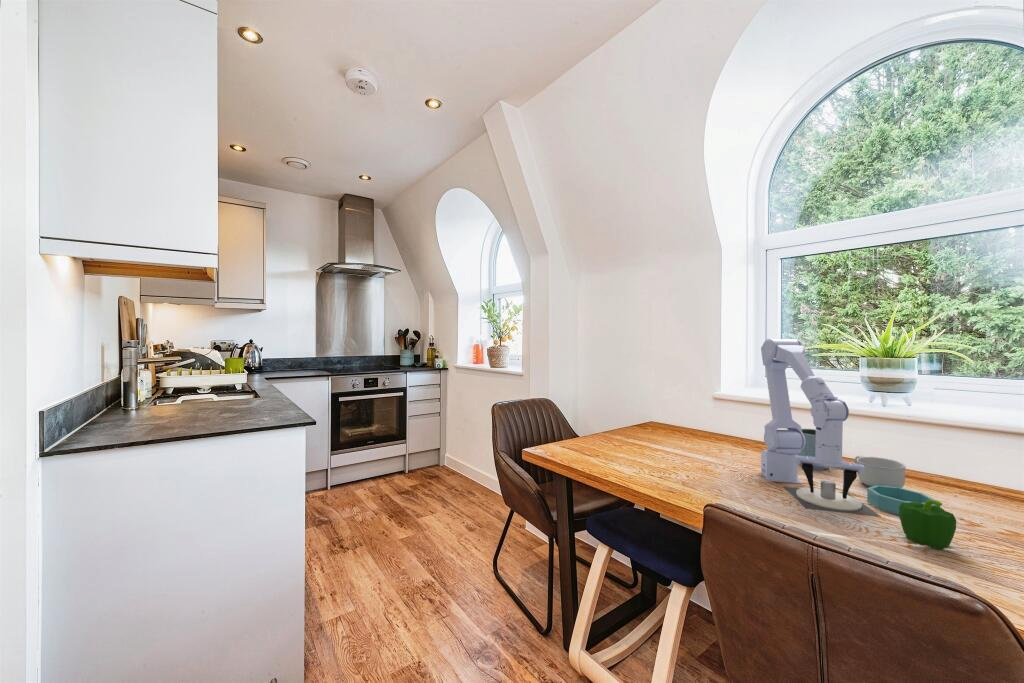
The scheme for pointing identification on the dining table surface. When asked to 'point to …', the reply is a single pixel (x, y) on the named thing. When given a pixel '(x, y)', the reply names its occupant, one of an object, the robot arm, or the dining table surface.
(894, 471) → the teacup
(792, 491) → the mat
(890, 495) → the bowl
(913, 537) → the bell pepper
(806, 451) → the teal cup
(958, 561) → the dining table surface
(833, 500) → the lid
